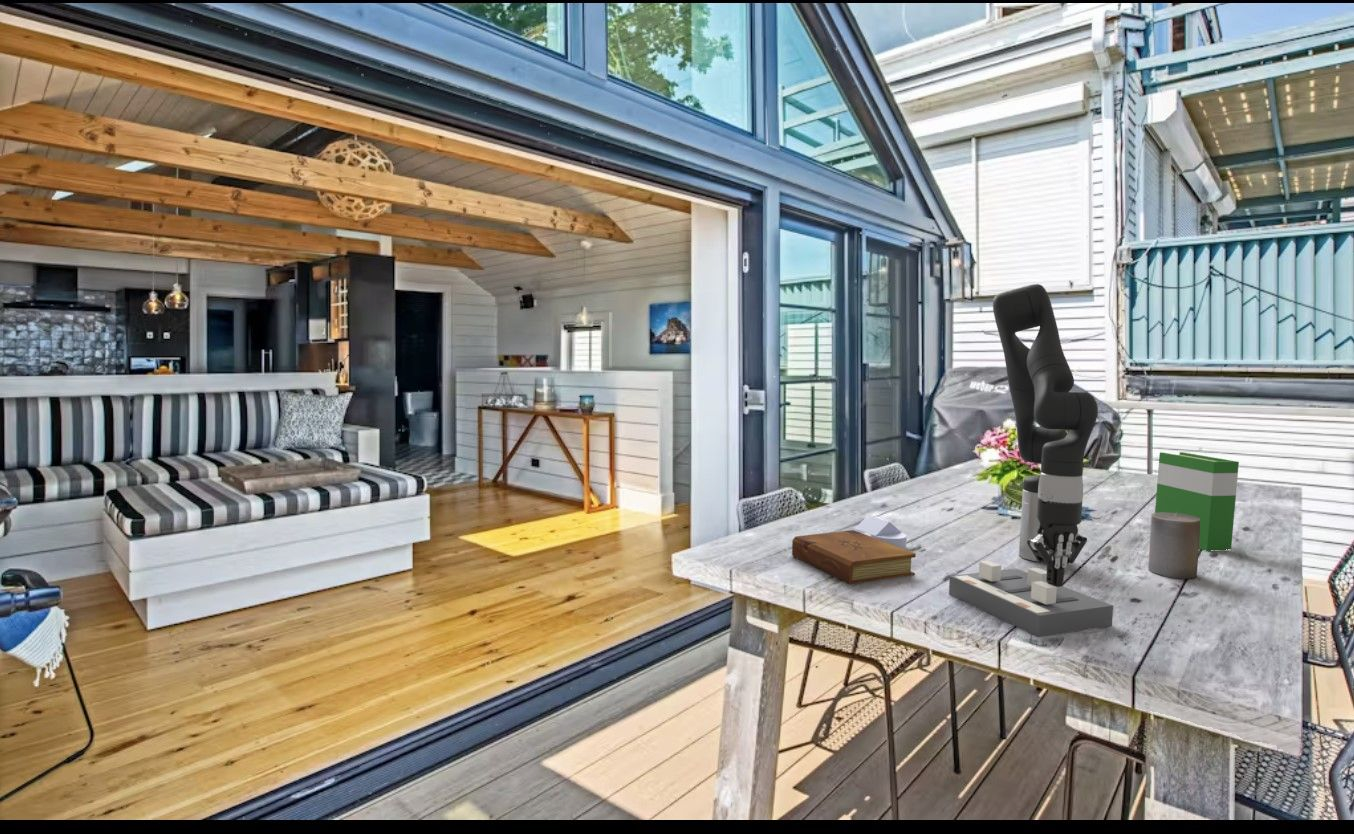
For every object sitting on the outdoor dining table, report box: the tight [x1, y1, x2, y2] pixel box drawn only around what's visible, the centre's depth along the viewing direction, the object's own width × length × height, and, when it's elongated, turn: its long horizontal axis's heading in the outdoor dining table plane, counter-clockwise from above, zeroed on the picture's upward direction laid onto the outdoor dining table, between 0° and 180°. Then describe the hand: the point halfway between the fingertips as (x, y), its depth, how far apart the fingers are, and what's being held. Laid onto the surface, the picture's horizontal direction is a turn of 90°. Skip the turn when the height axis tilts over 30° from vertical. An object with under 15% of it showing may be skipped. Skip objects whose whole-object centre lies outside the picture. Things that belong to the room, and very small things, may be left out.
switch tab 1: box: [978, 560, 1002, 582], centre depth 151 cm, size 2×4×3 cm, turn 19°
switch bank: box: [948, 568, 1114, 638], centre depth 145 cm, size 18×24×4 cm
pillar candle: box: [1147, 511, 1200, 580], centre depth 171 cm, size 10×10×15 cm
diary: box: [791, 529, 917, 585], centre depth 173 cm, size 23×19×6 cm
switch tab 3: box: [1031, 581, 1057, 604], centre depth 137 cm, size 2×4×3 cm, turn 19°
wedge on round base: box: [854, 514, 908, 550], centre depth 193 cm, size 9×7×13 cm
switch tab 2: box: [1027, 567, 1047, 586], centre depth 146 cm, size 2×4×3 cm, turn 19°
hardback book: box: [1154, 451, 1240, 552], centre depth 199 cm, size 18×7×24 cm, turn 9°
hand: (1054, 585), depth 138 cm, fingers closed
